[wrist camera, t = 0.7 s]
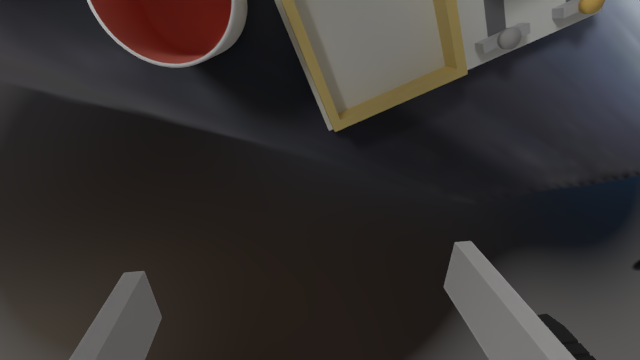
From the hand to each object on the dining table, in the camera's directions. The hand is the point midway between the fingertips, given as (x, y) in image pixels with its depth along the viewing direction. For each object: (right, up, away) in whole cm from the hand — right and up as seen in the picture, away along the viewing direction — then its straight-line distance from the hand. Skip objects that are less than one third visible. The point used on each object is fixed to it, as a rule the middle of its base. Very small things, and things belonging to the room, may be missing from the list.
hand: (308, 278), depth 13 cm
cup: (-12, +22, +16) cm, 30 cm away
